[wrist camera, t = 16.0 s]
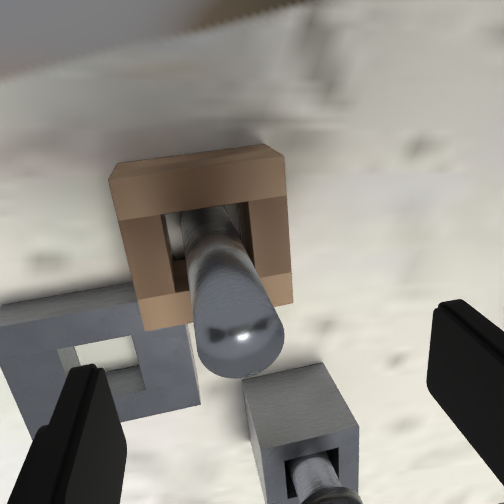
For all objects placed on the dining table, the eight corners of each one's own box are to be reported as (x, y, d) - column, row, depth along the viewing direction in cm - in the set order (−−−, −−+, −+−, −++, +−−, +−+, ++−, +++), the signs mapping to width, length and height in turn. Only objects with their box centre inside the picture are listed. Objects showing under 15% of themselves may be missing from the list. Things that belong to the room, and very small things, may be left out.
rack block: (264, 143, 23) (284, 156, 19) (275, 271, 26) (293, 303, 22) (117, 163, 21) (108, 180, 18) (147, 294, 25) (145, 331, 21)
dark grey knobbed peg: (312, 380, 29) (370, 496, 21) (314, 421, 31) (368, 543, 23) (258, 392, 29) (296, 516, 21) (263, 433, 30) (300, 563, 22)
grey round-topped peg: (226, 195, 23) (281, 295, 12) (231, 240, 24) (287, 368, 14) (177, 202, 23) (190, 313, 12) (185, 248, 24) (203, 386, 13)
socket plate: (177, 274, 24) (179, 294, 22) (197, 378, 28) (200, 404, 25) (1, 305, 23) (-16, 329, 21) (44, 410, 26) (33, 441, 24)
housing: (323, 362, 29) (359, 426, 24) (325, 423, 32) (358, 494, 26) (242, 380, 29) (260, 450, 23) (250, 441, 31) (268, 518, 26)
